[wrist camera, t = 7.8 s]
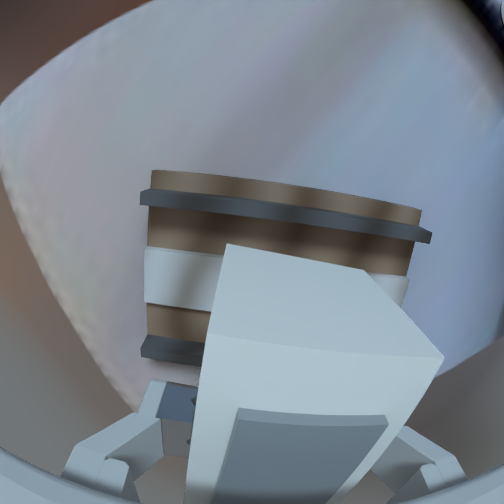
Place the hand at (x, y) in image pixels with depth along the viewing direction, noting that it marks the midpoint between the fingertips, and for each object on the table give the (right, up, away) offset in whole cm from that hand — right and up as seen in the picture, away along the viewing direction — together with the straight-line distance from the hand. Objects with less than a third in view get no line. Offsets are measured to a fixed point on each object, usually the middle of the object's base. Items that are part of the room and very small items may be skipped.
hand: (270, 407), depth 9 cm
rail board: (+2, +2, +19) cm, 20 cm away
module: (0, +1, +2) cm, 2 cm away
